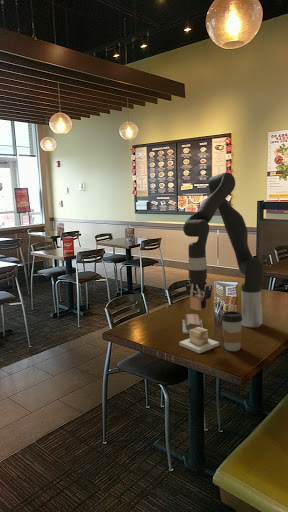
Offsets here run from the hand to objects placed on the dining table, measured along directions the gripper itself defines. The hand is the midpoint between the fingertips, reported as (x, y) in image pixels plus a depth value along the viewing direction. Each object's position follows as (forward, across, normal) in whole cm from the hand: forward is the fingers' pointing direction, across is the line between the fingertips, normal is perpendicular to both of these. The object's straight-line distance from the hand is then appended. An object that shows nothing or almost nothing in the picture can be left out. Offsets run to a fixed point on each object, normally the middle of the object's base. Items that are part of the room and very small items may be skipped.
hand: (198, 306), depth 160 cm
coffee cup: (+17, -12, -7) cm, 22 cm away
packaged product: (+18, +19, -14) cm, 30 cm away
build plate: (+17, 0, 0) cm, 17 cm away
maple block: (+16, 0, 0) cm, 16 cm away
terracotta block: (0, 0, 0) cm, 0 cm away
